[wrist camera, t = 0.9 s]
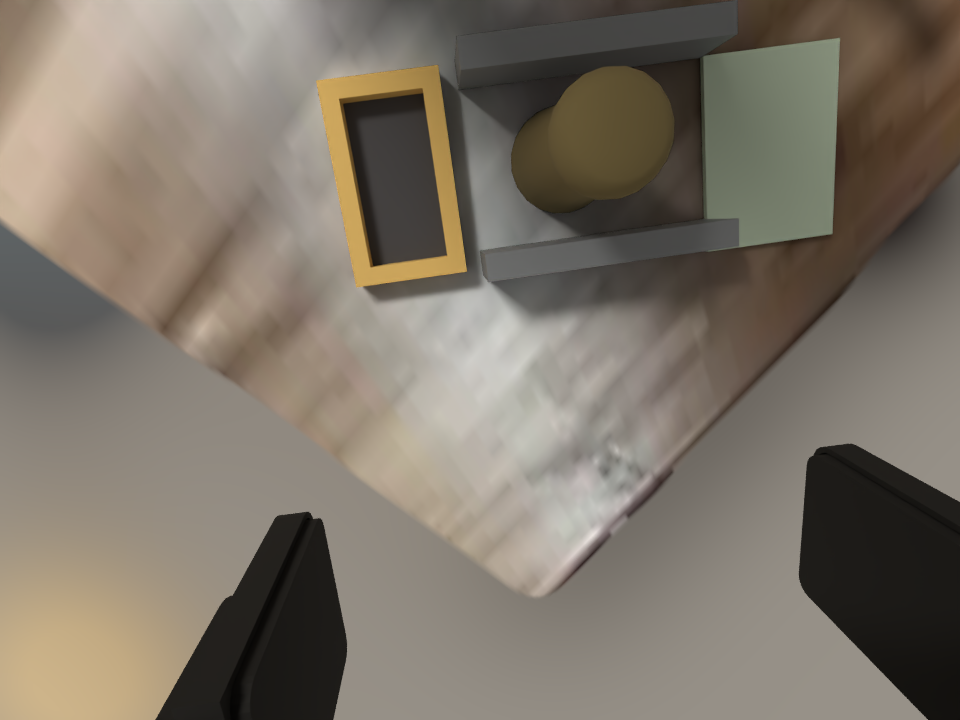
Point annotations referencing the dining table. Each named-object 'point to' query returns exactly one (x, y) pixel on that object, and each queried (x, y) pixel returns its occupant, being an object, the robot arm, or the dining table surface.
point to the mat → (771, 139)
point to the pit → (394, 174)
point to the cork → (594, 141)
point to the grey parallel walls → (583, 52)
